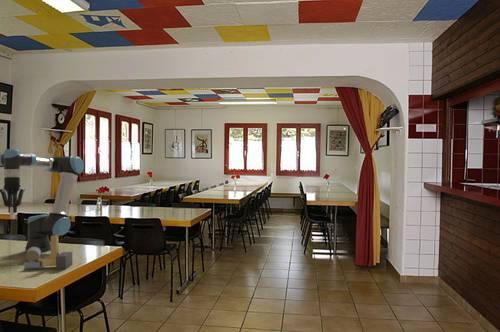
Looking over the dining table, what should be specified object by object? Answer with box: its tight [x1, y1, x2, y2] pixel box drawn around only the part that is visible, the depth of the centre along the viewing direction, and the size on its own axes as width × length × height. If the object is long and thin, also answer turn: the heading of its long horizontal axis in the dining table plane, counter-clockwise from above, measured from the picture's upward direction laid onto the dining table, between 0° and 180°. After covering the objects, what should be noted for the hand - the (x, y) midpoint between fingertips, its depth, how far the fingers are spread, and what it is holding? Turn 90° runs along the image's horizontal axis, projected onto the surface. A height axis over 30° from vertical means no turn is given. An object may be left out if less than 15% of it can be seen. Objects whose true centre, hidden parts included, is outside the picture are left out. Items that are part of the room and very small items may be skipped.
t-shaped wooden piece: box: [38, 235, 60, 267], centre depth 213 cm, size 4×14×16 cm, turn 95°
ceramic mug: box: [25, 247, 47, 262], centre depth 229 cm, size 11×8×8 cm
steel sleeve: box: [23, 259, 46, 271], centre depth 212 cm, size 7×8×4 cm
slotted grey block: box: [55, 251, 73, 271], centre depth 214 cm, size 10×5×7 cm, turn 6°
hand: (12, 218), depth 219 cm, fingers closed
